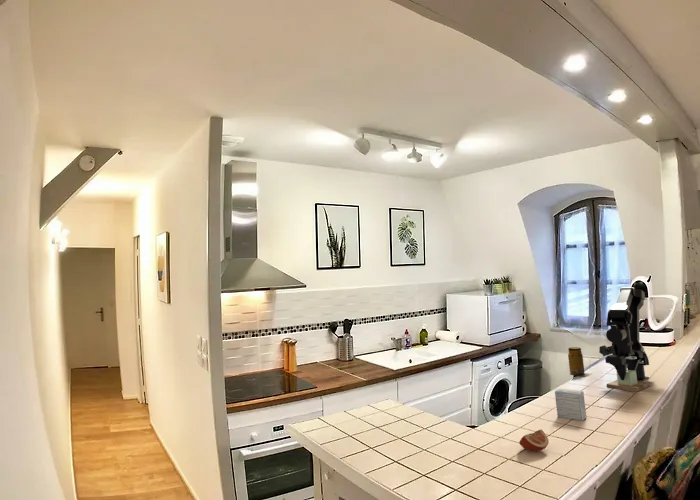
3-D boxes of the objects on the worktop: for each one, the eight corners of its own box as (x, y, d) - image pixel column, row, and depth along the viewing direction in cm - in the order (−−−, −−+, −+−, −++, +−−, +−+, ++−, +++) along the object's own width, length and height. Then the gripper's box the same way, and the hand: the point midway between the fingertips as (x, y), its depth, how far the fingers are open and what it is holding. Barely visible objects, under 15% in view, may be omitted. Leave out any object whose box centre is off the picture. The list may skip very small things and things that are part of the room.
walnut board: (620, 381, 182) (619, 379, 182) (649, 386, 173) (649, 383, 173) (606, 387, 176) (606, 384, 176) (636, 391, 167) (635, 388, 167)
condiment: (573, 371, 206) (570, 346, 207) (592, 373, 200) (589, 347, 200) (566, 374, 201) (563, 348, 202) (585, 377, 195) (582, 349, 196)
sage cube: (624, 381, 178) (622, 369, 179) (637, 383, 174) (635, 370, 175) (618, 383, 176) (616, 371, 176) (631, 385, 171) (629, 372, 172)
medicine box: (587, 417, 143) (583, 390, 143) (583, 421, 140) (579, 393, 140) (561, 414, 148) (558, 388, 149) (557, 417, 145) (554, 391, 146)
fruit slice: (533, 443, 125) (531, 425, 125) (555, 450, 119) (553, 431, 120) (515, 451, 120) (513, 433, 121) (536, 458, 115) (535, 439, 115)
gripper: (613, 335, 188) (617, 371, 187) (590, 341, 178) (594, 379, 177) (641, 336, 179) (646, 375, 178) (618, 343, 169) (623, 384, 167)
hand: (626, 378), depth 175 cm, fingers open, 7 cm apart
